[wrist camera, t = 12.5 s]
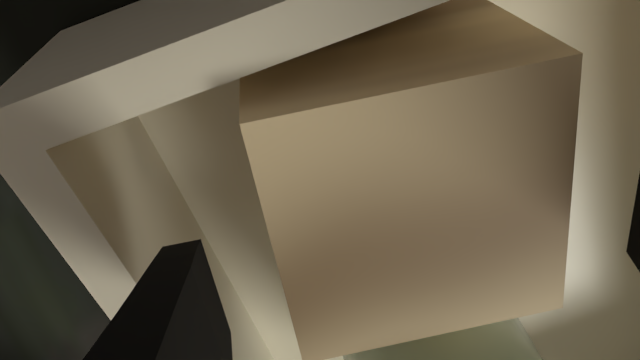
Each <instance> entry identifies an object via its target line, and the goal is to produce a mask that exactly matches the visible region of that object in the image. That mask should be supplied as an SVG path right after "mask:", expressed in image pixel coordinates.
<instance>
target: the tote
mask: <svg viewBox="0 0 640 360" xmlns="http://www.w3.org/2000/svg"><path fill="white" fill-rule="evenodd" d="M447 1H449V0H140V1H137V2H134V3H132V4H129V5H127V6H124V7H121V8H119V9H116V10H113V11H111V12H108V13H106V14H103V15H100V16H98V17H95V18H93V19H90V20H87V21H85V22H82V23H80V24H77V25H74V26H72V27H69V28H66V29H64V30H61V31H60V32H59V33H57V34H56V35H55V36H54V37H53V38H52V39H51V40H50V41H49V42H48V43H47V44H46V45H45V46H44V47H42V48H41V49H40V50H39V51H38V52H37V53H36V54H35V55H34V56H33V57H32V58H31V59H30V60H29V61H27V62H26V63H25V64H24V65H23V66H22V67H21V68H20V69H19V70H18V71H17V72H16V73H15V74H14V75H12V76H11V77H10V78H9V79H8V80H7V81H6V82H5V83H4V84H3V85H2V86H1V87H0V174H1V175H2V176H3V178H4V179H5V180H6V182H7V183H8V184H9V186H10V187H11V188H12V190H13V191H14V192H15V194H16V195H17V196H18V198H19V199H20V200H21V202H22V203H23V204H24V206H25V207H26V208H27V210H28V211H29V212H30V214H31V215H32V216H33V218H34V219H35V220H36V222H37V223H38V224H39V226H40V227H41V228H42V230H43V231H44V232H45V234H46V235H47V236H48V238H49V239H50V240H51V242H52V243H53V244H54V246H55V247H56V248H57V250H58V251H59V252H60V254H61V255H62V256H63V258H64V259H65V260H66V261H67V263H68V264H69V265H70V267H71V268H72V269H73V271H74V272H75V273H76V275H77V276H78V277H79V279H80V280H81V281H82V283H83V284H84V285H85V287H86V288H87V289H88V291H89V292H90V293H91V295H92V296H93V297H94V299H95V300H96V301H97V303H98V304H99V305H100V307H101V308H102V309H103V311H104V312H105V313H106V315H107V316H108V317H109V319H110V320H112V319H113V317H114V316H115V314H116V313H117V312H118V310H119V309H120V307H121V306H122V304H123V303H124V301H125V300H126V299H127V297H128V296H129V294H130V293H131V291H132V290H133V288H134V287H135V285H136V284H137V282H138V281H139V279H140V278H141V277H142V275H143V274H144V272H145V271H146V269H147V268H148V266H149V265H150V263H151V262H152V261H153V259H154V258H155V256H156V255H157V254H158V252H159V251H160V249H161V248H162V247H163V246H169V245H174V244H179V243H184V242H189V241H194V240H199V239H201V242H202V245H203V248H204V251H205V254H206V257H207V260H208V263H209V266H210V269H211V272H212V275H213V278H214V281H215V285H216V288H217V291H218V294H219V297H220V300H221V303H222V306H223V309H224V312H225V315H226V318H227V321H228V325H229V328H230V331H231V340H232V357H233V360H302V357H301V353H300V350H299V346H298V342H297V338H296V335H295V331H294V327H293V323H292V320H291V316H290V312H289V308H288V305H287V301H286V297H285V293H284V290H283V286H282V282H281V278H280V275H279V271H278V267H277V263H276V260H275V256H274V252H273V248H272V245H271V241H270V237H269V233H268V230H267V226H266V222H265V218H264V215H263V211H262V207H261V203H260V200H259V196H258V192H257V188H256V185H255V181H254V177H253V173H252V170H251V166H250V162H249V159H248V155H247V151H246V147H245V144H244V140H243V136H242V132H241V129H240V125H239V88H240V78H241V77H244V76H247V75H249V74H252V73H255V72H258V71H260V70H263V69H266V68H268V67H271V66H274V65H276V64H279V63H282V62H285V61H287V60H290V59H293V58H295V57H298V56H301V55H303V54H306V53H309V52H312V51H314V50H317V49H320V48H322V47H325V46H328V45H331V44H333V43H336V42H339V41H341V40H344V39H347V38H349V37H352V36H355V35H358V34H360V33H363V32H366V31H368V30H371V29H374V28H376V27H379V26H382V25H385V24H387V23H390V22H393V21H395V20H398V19H401V18H404V17H406V16H409V15H412V14H414V13H417V12H420V11H422V10H425V9H428V8H431V7H433V6H436V5H439V4H441V3H444V2H447ZM488 1H490V2H492V3H494V4H495V5H497V6H499V7H501V8H503V9H504V10H506V11H508V12H510V13H512V14H513V15H515V16H517V17H519V18H521V19H522V20H524V21H526V22H528V23H530V24H531V25H533V26H535V27H537V28H539V29H540V30H542V31H544V32H546V33H548V34H549V35H551V36H553V37H555V38H557V39H558V40H560V41H562V42H564V43H566V44H567V45H569V46H571V47H573V48H574V49H576V50H578V51H580V52H582V53H583V59H582V72H581V84H580V97H579V109H578V122H577V135H576V147H575V160H574V173H573V185H572V198H571V210H570V223H569V236H568V248H567V261H566V273H565V286H564V299H563V308H560V309H556V310H551V311H546V312H542V313H537V314H533V315H528V316H523V317H519V320H520V321H521V323H522V325H523V326H524V328H525V330H526V332H527V333H528V335H529V337H530V338H531V340H532V342H533V343H534V345H535V347H536V348H537V350H538V352H539V353H540V355H541V357H542V359H543V360H640V272H639V270H638V269H637V267H636V266H635V264H634V263H633V261H632V260H631V258H630V257H629V255H628V254H627V252H626V250H627V244H628V238H629V232H630V226H631V220H632V214H633V208H634V203H635V197H636V191H637V185H638V179H639V173H640V0H488ZM325 360H344V359H343V356H339V357H334V358H330V359H325Z"/></svg>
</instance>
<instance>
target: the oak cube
mask: <svg viewBox="0 0 640 360" xmlns="http://www.w3.org/2000/svg"><path fill="white" fill-rule="evenodd" d="M582 59H583V53H582V52H580V51H578V50H576V49H574V48H573V47H571V46H569V45H567V44H566V43H564V42H562V41H560V40H558V39H557V38H555V37H553V36H551V35H549V34H548V33H546V32H544V31H542V30H540V29H539V28H537V27H535V26H533V25H531V24H530V23H528V22H526V21H524V20H522V19H521V18H519V17H517V16H515V15H513V14H512V13H510V12H508V11H506V10H504V9H503V8H501V7H499V6H497V5H495V4H494V3H492V2H490V1H488V0H449V1H447V2H444V3H441V4H439V5H436V6H433V7H431V8H428V9H425V10H422V11H420V12H417V13H414V14H412V15H409V16H406V17H404V18H401V19H398V20H395V21H393V22H390V23H387V24H385V25H382V26H379V27H376V28H374V29H371V30H368V31H366V32H363V33H360V34H358V35H355V36H352V37H349V38H347V39H344V40H341V41H339V42H336V43H333V44H331V45H328V46H325V47H322V48H320V49H317V50H314V51H312V52H309V53H306V54H303V55H301V56H298V57H295V58H293V59H290V60H287V61H285V62H282V63H279V64H276V65H274V66H271V67H268V68H266V69H263V70H260V71H258V72H255V73H252V74H249V75H247V76H244V77H241V78H240V88H239V125H240V129H241V132H242V136H243V140H244V144H245V147H246V151H247V155H248V159H249V162H250V166H251V170H252V173H253V177H254V181H255V185H256V188H257V192H258V196H259V200H260V203H261V207H262V211H263V215H264V218H265V222H266V226H267V230H268V233H269V237H270V241H271V245H272V248H273V252H274V256H275V260H276V263H277V267H278V271H279V275H280V278H281V282H282V286H283V290H284V293H285V297H286V301H287V305H288V308H289V312H290V316H291V320H292V323H293V327H294V331H295V335H296V338H297V342H298V346H299V350H300V353H301V357H302V360H325V359H330V358H334V357H339V356H344V355H348V354H353V353H357V352H362V351H367V350H371V349H376V348H381V347H385V346H390V345H394V344H399V343H404V342H408V341H413V340H417V339H422V338H427V337H431V336H436V335H440V334H445V333H450V332H454V331H459V330H463V329H468V328H473V327H477V326H482V325H487V324H491V323H496V322H500V321H505V320H510V319H514V318H519V317H523V316H528V315H533V314H537V313H542V312H546V311H551V310H556V309H560V308H563V299H564V286H565V273H566V261H567V248H568V236H569V223H570V210H571V198H572V185H573V173H574V160H575V147H576V135H577V122H578V109H579V97H580V84H581V72H582Z"/></svg>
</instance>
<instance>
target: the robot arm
mask: <svg viewBox="0 0 640 360" xmlns="http://www.w3.org/2000/svg"><path fill="white" fill-rule="evenodd" d="M626 252H627V254H628V255H629V257H630V258H631V260H632V261H633V263H634V264H635V266H636V267H637V269H638V270H639V272H640V173H639V179H638V185H637V191H636V197H635V203H634V208H633V214H632V220H631V226H630V232H629V238H628V244H627V250H626ZM83 360H233V357H232V340H231V331H230V328H229V325H228V321H227V318H226V315H225V312H224V309H223V306H222V303H221V300H220V297H219V294H218V291H217V288H216V285H215V281H214V278H213V275H212V272H211V269H210V266H209V263H208V260H207V257H206V254H205V251H204V248H203V245H202V242H201V239H199V240H194V241H189V242H184V243H179V244H174V245H169V246H163V247H162V248H161V249H160V251H159V252H158V254H157V255H156V256H155V258H154V259H153V261H152V262H151V263H150V265H149V266H148V268H147V269H146V271H145V272H144V274H143V275H142V277H141V278H140V279H139V281H138V282H137V284H136V285H135V287H134V288H133V290H132V291H131V293H130V294H129V296H128V297H127V299H126V300H125V301H124V303H123V304H122V306H121V307H120V309H119V310H118V312H117V313H116V314H115V316H114V317H113V319H112V320H111V321H110V323H109V324H108V326H107V327H106V328H105V330H104V331H103V333H102V334H101V335H100V337H99V338H98V340H97V341H96V342H95V344H94V345H93V347H92V348H91V349H90V351H89V352H88V353H87V355H86V356H85V357H84V359H83Z"/></svg>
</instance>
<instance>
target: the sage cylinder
mask: <svg viewBox="0 0 640 360" xmlns="http://www.w3.org/2000/svg"><path fill="white" fill-rule="evenodd" d="M343 359H344V360H543V359H542V357H541V355H540V353H539V352H538V350H537V348H536V347H535V345H534V343H533V342H532V340H531V338H530V337H529V335H528V333H527V332H526V330H525V328H524V326H523V325H522V323H521V321H520V320H519V318H514V319H510V320H505V321H500V322H496V323H491V324H487V325H482V326H477V327H473V328H468V329H463V330H459V331H454V332H450V333H445V334H440V335H436V336H431V337H427V338H422V339H417V340H413V341H408V342H404V343H399V344H394V345H390V346H385V347H381V348H376V349H371V350H367V351H362V352H357V353H353V354H348V355H344V356H343Z"/></svg>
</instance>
